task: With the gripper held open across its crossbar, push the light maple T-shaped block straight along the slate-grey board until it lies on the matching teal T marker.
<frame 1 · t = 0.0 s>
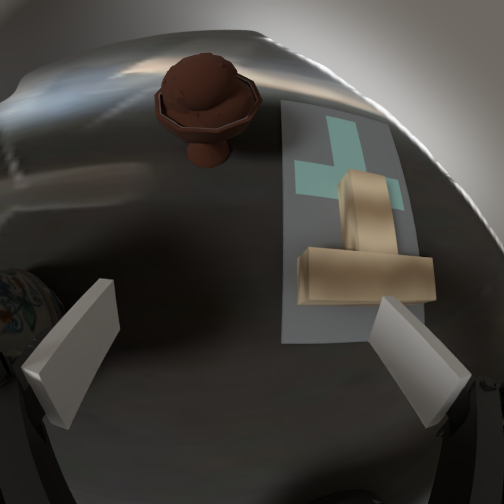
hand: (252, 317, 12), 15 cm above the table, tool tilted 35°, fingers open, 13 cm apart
t block: (360, 242, 31), resting on push board
ice cream bowl: (208, 151, 33), on the table
push board: (354, 203, 33), on the table
beer stein: (36, 341, 23), on the table
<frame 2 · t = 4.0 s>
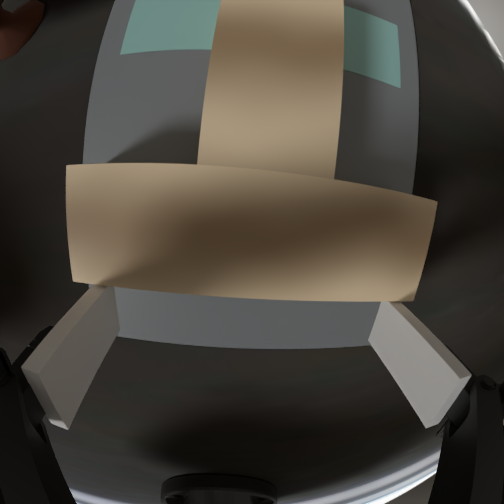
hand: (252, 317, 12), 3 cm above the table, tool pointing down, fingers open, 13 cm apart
t block: (262, 120, 12), resting on push board, touching gripper
ice cream bowl: (19, 29, 8), on the table
push board: (266, 56, 12), on the table
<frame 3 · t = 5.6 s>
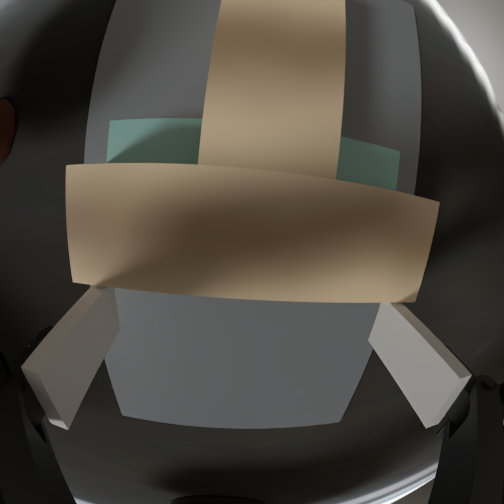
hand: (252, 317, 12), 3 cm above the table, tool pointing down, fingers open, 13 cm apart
t block: (263, 120, 12), resting on push board, touching gripper
push board: (252, 219, 14), on the table
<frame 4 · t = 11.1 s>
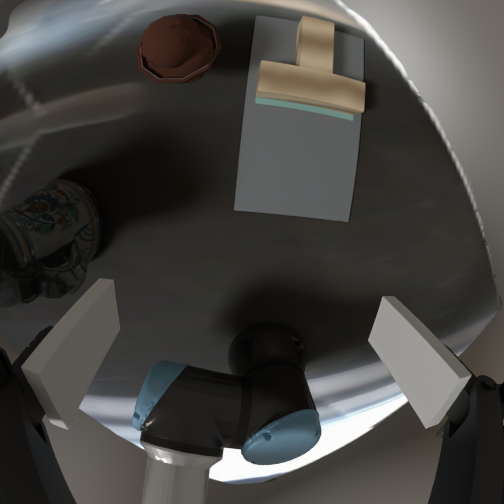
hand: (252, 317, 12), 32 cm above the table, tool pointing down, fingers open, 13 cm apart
t block: (310, 64, 35), resting on push board
ice cream bowl: (188, 68, 35), on the table
push board: (305, 111, 38), on the table
beer stein: (74, 221, 41), on the table
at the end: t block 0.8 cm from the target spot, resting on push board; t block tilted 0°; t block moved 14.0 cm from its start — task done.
